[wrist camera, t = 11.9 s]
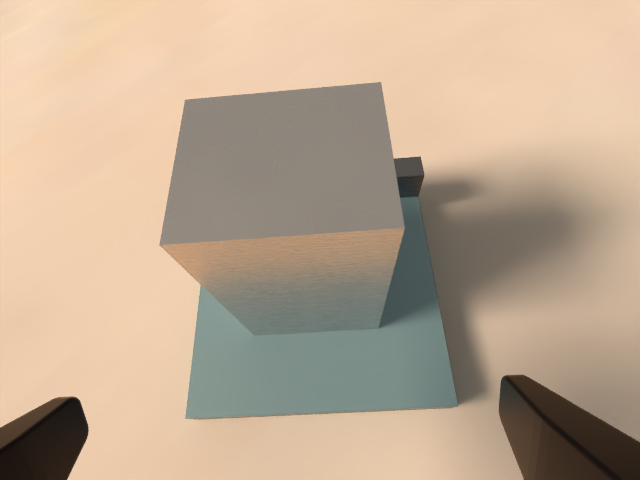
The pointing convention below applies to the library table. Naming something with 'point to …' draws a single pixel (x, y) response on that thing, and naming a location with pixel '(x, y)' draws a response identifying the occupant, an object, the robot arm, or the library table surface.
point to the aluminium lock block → (288, 207)
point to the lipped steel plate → (333, 347)
